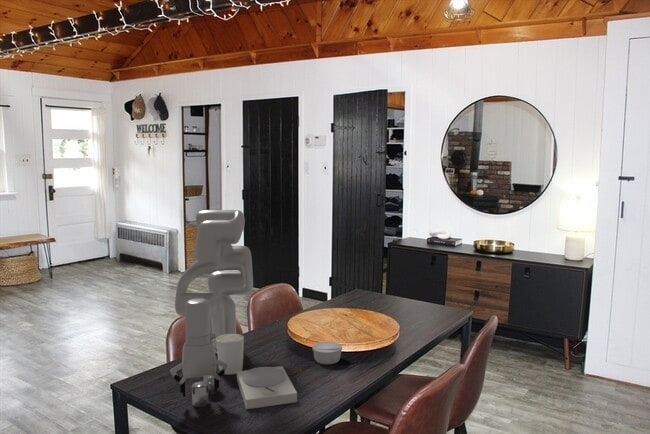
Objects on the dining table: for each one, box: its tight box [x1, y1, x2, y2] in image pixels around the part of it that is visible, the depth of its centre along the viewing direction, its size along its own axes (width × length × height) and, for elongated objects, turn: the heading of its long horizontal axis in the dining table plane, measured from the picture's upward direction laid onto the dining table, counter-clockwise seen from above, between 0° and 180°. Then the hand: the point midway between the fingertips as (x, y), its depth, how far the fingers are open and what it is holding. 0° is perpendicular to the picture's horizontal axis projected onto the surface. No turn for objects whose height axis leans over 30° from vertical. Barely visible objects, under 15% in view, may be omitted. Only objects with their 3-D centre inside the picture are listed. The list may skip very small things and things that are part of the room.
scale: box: [236, 365, 298, 410], centre depth 172 cm, size 22×16×4 cm
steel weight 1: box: [191, 381, 210, 408], centre depth 163 cm, size 5×5×6 cm
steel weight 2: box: [203, 370, 220, 395], centre depth 172 cm, size 5×5×6 cm
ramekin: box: [312, 341, 343, 365], centre depth 198 cm, size 11×11×5 cm
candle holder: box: [216, 333, 245, 376], centre depth 188 cm, size 10×10×12 cm
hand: (200, 392), depth 163 cm, fingers open, 9 cm apart
